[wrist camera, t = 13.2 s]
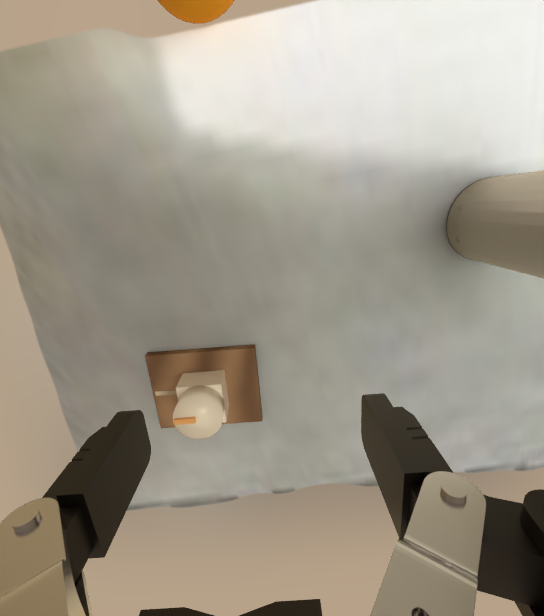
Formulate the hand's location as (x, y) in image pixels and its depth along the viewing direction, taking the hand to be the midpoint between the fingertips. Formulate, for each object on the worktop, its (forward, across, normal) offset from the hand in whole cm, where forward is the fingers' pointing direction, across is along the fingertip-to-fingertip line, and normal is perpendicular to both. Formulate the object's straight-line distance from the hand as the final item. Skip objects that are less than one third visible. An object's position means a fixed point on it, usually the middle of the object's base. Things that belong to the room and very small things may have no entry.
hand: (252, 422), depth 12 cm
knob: (+27, +9, +15) cm, 32 cm away
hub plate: (+28, +9, +15) cm, 33 cm away
